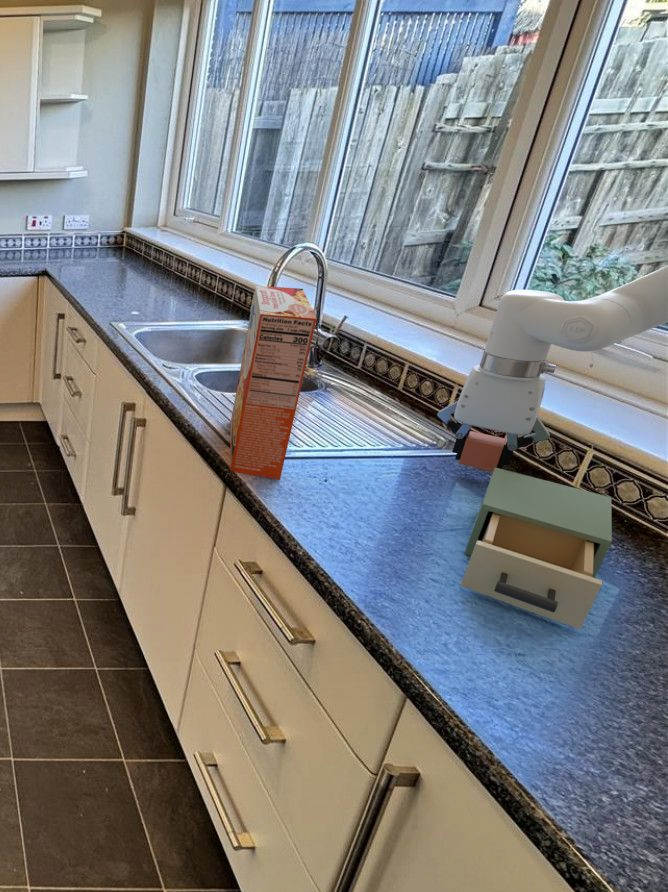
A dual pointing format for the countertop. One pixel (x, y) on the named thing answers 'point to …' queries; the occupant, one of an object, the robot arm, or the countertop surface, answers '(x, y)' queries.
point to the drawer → (534, 569)
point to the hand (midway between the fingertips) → (478, 461)
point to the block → (482, 451)
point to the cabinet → (546, 510)
